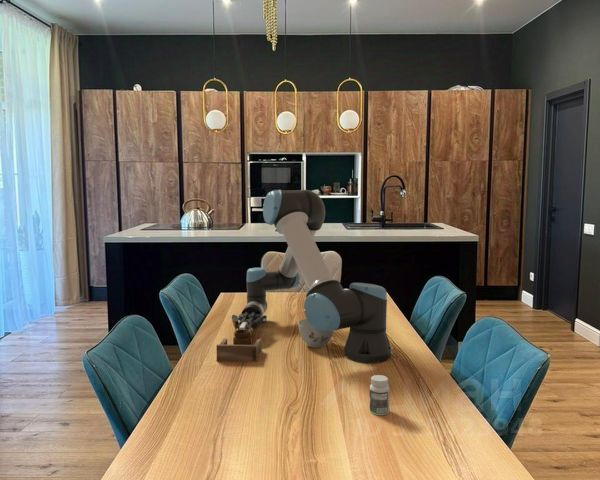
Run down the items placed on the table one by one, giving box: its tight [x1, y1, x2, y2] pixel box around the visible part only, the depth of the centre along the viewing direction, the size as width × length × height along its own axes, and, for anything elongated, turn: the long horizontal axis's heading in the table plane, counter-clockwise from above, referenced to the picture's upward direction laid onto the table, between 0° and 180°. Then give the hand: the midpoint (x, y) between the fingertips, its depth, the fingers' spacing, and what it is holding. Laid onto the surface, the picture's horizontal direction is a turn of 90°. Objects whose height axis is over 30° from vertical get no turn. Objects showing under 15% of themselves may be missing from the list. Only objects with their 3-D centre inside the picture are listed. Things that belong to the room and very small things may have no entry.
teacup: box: [297, 318, 335, 349], centre depth 175 cm, size 15×12×8 cm
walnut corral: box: [216, 338, 262, 363], centre depth 163 cm, size 11×12×5 cm
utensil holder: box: [231, 315, 252, 345], centre depth 166 cm, size 6×6×12 cm
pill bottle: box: [369, 374, 390, 416], centre depth 123 cm, size 5×5×8 cm
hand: (241, 331), depth 169 cm, fingers closed
